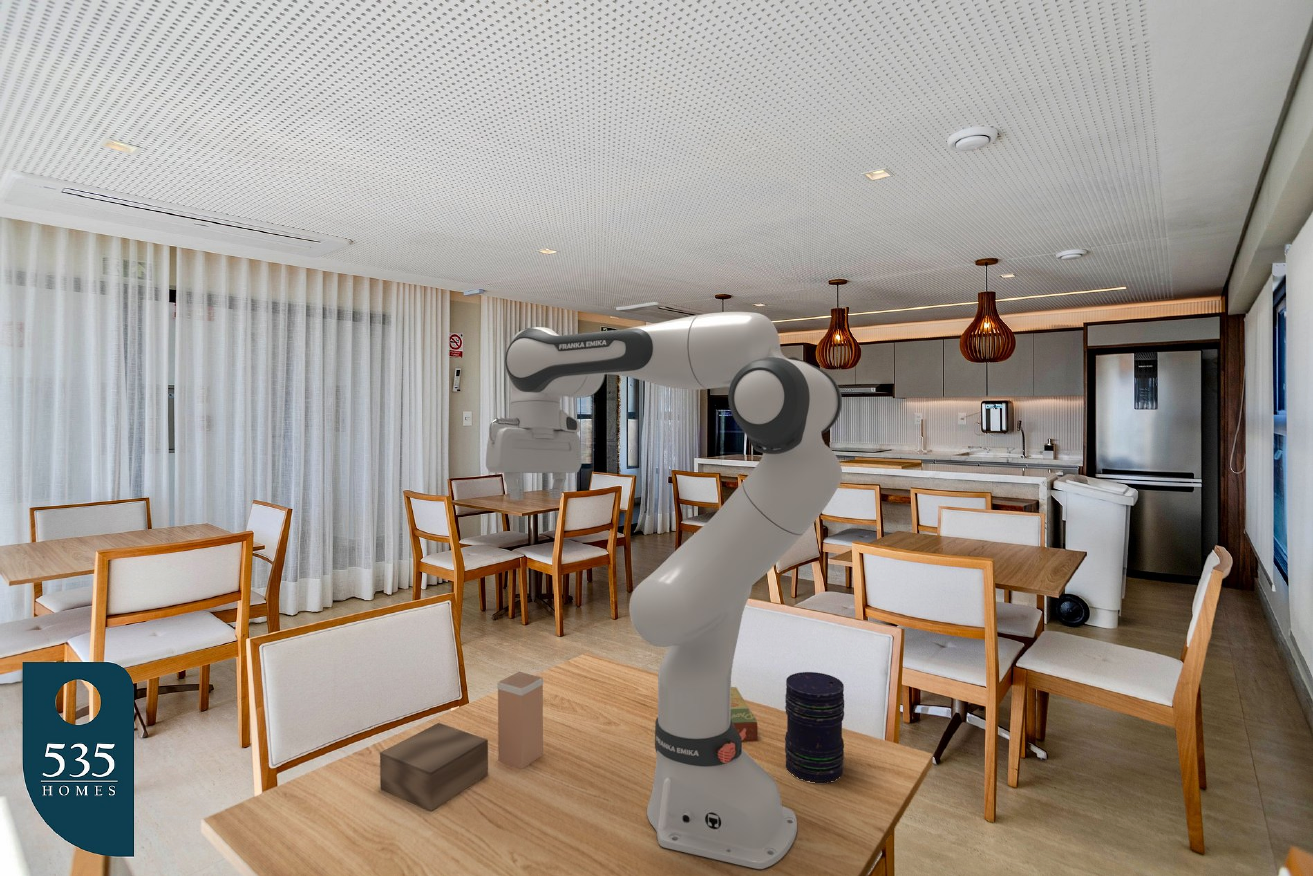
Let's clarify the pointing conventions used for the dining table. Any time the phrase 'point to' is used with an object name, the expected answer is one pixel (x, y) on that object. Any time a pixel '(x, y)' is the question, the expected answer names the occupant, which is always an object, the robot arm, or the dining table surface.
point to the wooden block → (433, 765)
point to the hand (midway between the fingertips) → (536, 499)
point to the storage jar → (814, 726)
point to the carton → (742, 716)
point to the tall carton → (520, 719)
